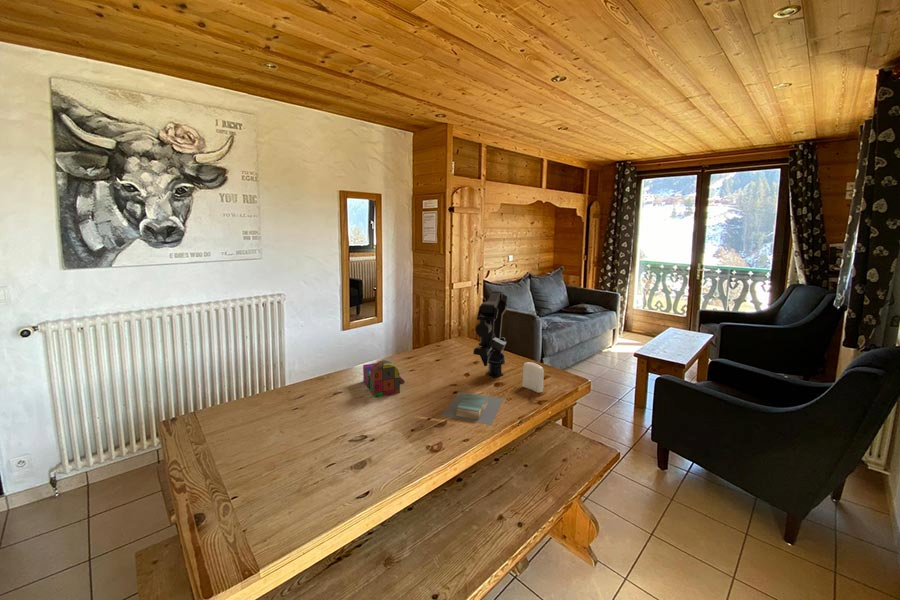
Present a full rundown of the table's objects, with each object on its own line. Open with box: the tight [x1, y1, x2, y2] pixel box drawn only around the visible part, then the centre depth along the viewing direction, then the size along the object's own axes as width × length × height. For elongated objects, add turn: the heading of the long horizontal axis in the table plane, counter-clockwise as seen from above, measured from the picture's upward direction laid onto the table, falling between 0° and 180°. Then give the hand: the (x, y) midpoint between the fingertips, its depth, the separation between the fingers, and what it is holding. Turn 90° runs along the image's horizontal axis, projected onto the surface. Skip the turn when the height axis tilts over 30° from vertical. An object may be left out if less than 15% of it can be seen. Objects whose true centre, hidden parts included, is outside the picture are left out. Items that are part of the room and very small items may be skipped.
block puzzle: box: [362, 359, 405, 398], centre depth 189 cm, size 25×17×14 cm
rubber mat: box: [441, 391, 504, 426], centre depth 166 cm, size 24×20×1 cm
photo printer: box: [522, 361, 545, 394], centre depth 185 cm, size 10×4×12 cm, turn 39°
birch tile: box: [456, 393, 487, 419], centre depth 163 cm, size 3×9×14 cm
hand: (485, 365), depth 182 cm, fingers closed
